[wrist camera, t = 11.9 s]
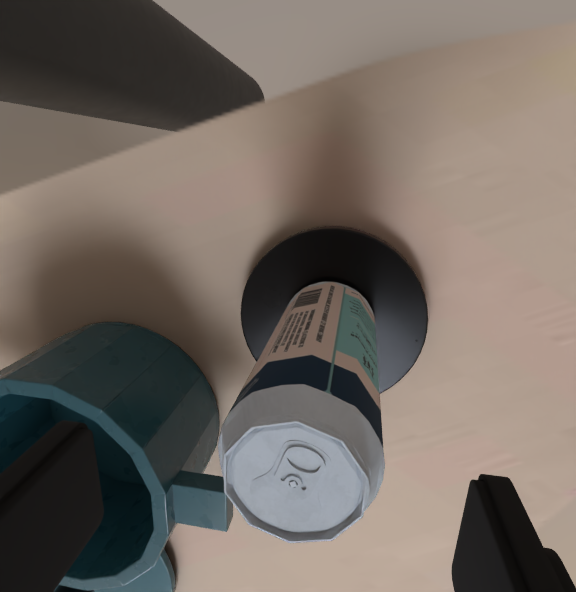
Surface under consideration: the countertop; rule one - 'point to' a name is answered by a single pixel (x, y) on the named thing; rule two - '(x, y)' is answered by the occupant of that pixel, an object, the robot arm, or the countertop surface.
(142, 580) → the lid
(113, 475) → the pot
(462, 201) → the countertop surface
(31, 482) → the robot arm
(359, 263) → the black plate
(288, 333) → the beer can
